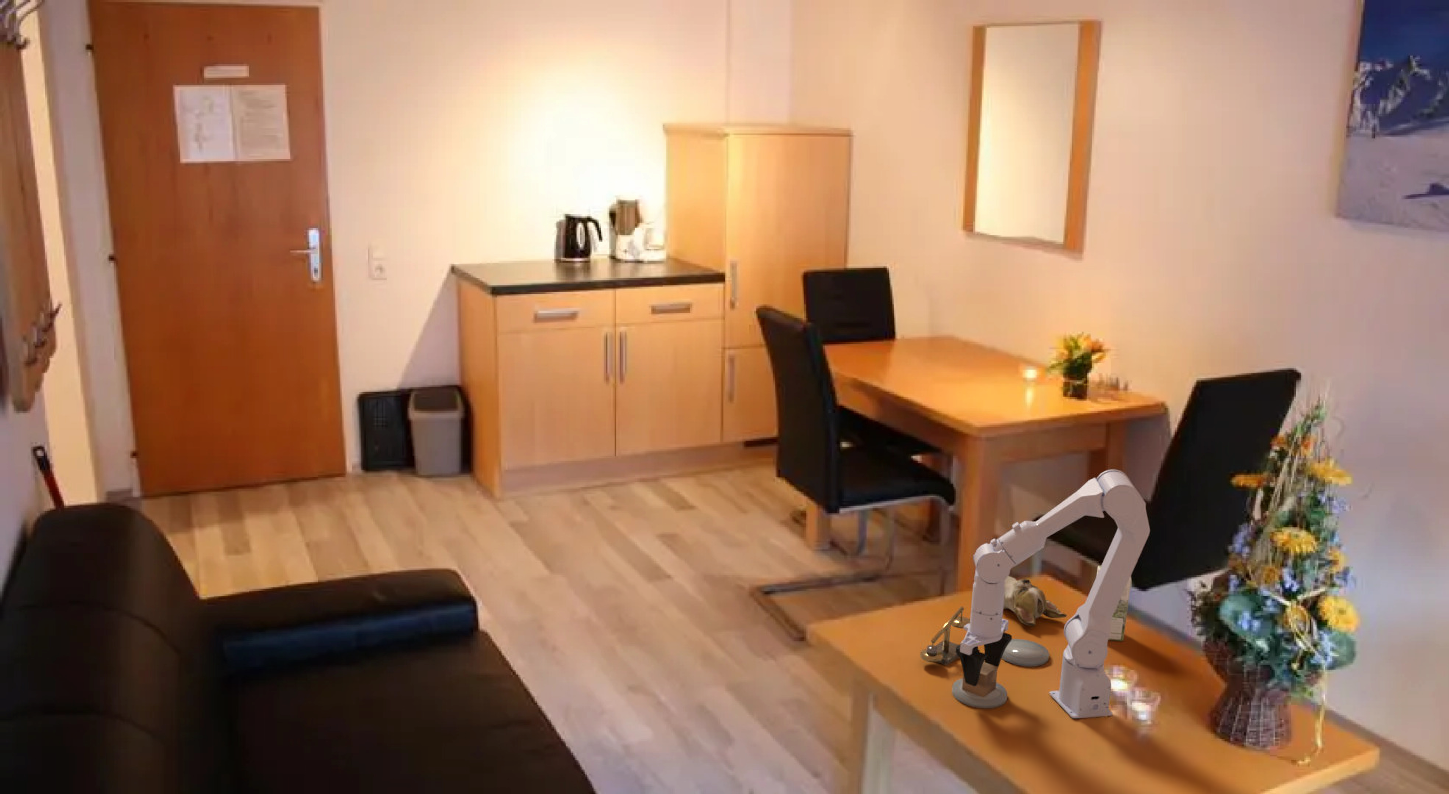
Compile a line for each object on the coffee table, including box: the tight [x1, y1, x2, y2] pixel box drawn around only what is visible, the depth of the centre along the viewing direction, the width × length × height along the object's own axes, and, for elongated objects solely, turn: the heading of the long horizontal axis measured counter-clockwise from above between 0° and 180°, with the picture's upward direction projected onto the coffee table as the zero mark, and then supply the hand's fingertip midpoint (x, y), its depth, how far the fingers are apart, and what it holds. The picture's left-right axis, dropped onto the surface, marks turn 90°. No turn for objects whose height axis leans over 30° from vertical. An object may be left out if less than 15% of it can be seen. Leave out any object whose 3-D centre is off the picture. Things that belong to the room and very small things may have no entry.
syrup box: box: [1096, 565, 1132, 642], centre depth 246 cm, size 6×6×14 cm
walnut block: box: [962, 661, 999, 697], centre depth 221 cm, size 4×4×4 cm
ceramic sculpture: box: [1003, 575, 1068, 627], centre depth 255 cm, size 11×9×15 cm
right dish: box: [1001, 638, 1050, 667], centre depth 238 cm, size 10×10×1 cm
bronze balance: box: [919, 606, 970, 666], centre depth 236 cm, size 16×5×8 cm, turn 141°
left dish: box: [951, 677, 1008, 709], centre depth 221 cm, size 10×10×1 cm
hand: (981, 676), depth 221 cm, fingers open, 7 cm apart
